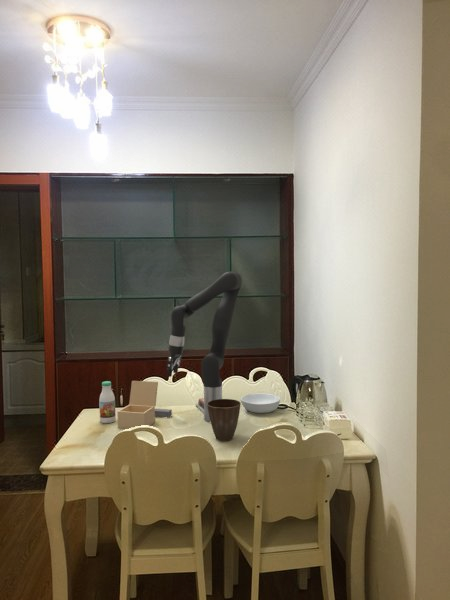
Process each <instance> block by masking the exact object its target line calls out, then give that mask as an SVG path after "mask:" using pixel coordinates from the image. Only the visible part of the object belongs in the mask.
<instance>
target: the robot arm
mask: <svg viewBox="0 0 450 600" xmlns="http://www.w3.org/2000/svg"><path fill="white" fill-rule="evenodd" d="M242 284H243V279H242V276H241V274H240V273H239V272H237V271H226V272H224V273H223V274H222V275H220V277H218V278H217V279H216V280H215V281H214V282H213V283H211V284H210V285H209V286H208V287H206V288H204V289H203V290H201V291H200V292H198V293H197V294H194V296H192V297H190V298H189V299H188V300H187V301H186V302H185V303H184V304H182V305H176V306H175V307H173V308H172V310H171V313H170V314H171V316H170V317H171V318H170V319H171V332H170V337H169V343H168V350H167V352H168V353H169V354H170V356H167V361H166V366H165V369H167V373H166V374H167V375H166V376H167V377H169V378H171V377H172V375H173V374H178V373H179V372H178V371H179V367H180V365H181V363H182V355H183V353H184V347H185V335H186V326H185V325H184V320H186V319H188V318H190V316H192V315H193V314H195V313H196V312H198V311H199V310H200V309H202V308H204V307H205V306H207V305H208V304H209V303H210V302H211V301H213V300H214V299H215V298H216V297H217V296H218V297H219V295H222V297H221V301H220V303H218V306H217V308H216V310H215V312H214V315H213V319H212V325H211V337H212V338H211V346H210V350H209V352H208V354H207V355H205V356H204V357H203V358H202V359H201V360H202V361H201V379H202V383H203V398H204V414H203V417H204V421H206V422H208V423H211V422H210V418H209V413H208V407H207V403H208V402H209V401H212V400H217V399H223V379H221V376H220V374H221V373H220V370H221V368H222V367H223V366H224V363H225V362H224V361H225V355H226V354H225V352H226V345H227V343H228V339H229V335H230V331H231V327H232V324H233V317H234V312H235V309H236V303H237V299H238V296H239V292H240V291H241V287H242Z"/></svg>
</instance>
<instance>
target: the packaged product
mask: <svg viewBox="0 0 450 600" xmlns="http://www.w3.org/2000/svg"><path fill="white" fill-rule="evenodd" d="M195 407H196V408H197V410H199V411H200V412H201V413H202V414H203V415H204V397H202V398H199V399H198V403H195Z"/></svg>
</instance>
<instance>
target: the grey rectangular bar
mask: <svg viewBox="0 0 450 600" xmlns="http://www.w3.org/2000/svg"><path fill="white" fill-rule="evenodd" d="M171 415H172V416H173V411H172V409H167V408H155V418H162V417H167V418H166V419H170V418H169V417H170V416H171ZM172 416H171V417H172Z"/></svg>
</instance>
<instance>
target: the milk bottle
mask: <svg viewBox="0 0 450 600" xmlns="http://www.w3.org/2000/svg"><path fill="white" fill-rule="evenodd" d="M101 387H102V388H101V393H100V394H99V400H98V401H99V402H98V405H99V409H98V410H99V422H100V423H101V424H111V423H114V422H116V415H117V413H116V398H115V394H114V392H113V390H112V382H111V381H110V380H109V381H108V380H106V381H102V382H101Z"/></svg>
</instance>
